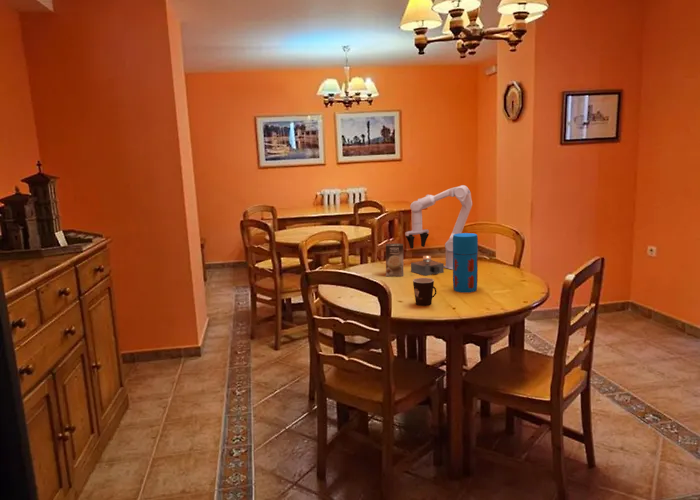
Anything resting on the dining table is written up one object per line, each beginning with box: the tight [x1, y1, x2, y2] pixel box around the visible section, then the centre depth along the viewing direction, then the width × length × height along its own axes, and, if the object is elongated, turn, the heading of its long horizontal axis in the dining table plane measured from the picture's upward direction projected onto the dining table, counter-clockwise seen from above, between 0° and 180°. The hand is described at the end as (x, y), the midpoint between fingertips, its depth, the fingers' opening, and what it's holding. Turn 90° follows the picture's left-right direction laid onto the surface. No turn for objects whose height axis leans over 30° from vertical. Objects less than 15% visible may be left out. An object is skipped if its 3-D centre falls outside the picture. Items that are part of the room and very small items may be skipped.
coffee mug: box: [412, 277, 437, 307], centre depth 211 cm, size 12×9×10 cm
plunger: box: [422, 255, 432, 264], centre depth 269 cm, size 4×4×8 cm
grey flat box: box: [410, 259, 445, 277], centre depth 268 cm, size 12×14×5 cm
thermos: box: [452, 232, 479, 294], centre depth 231 cm, size 11×11×25 cm
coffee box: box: [385, 243, 404, 277], centre depth 264 cm, size 9×6×16 cm
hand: (417, 247), depth 283 cm, fingers open, 7 cm apart
